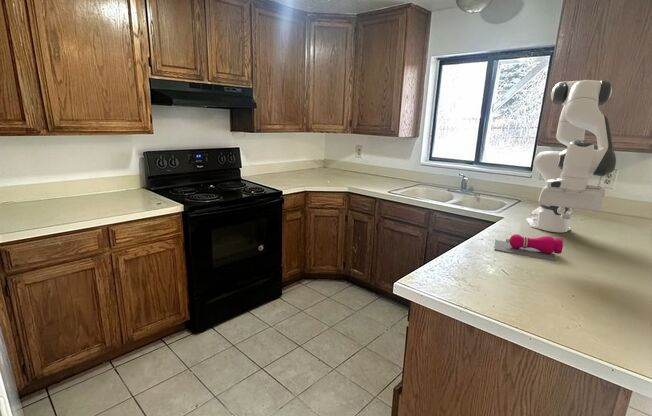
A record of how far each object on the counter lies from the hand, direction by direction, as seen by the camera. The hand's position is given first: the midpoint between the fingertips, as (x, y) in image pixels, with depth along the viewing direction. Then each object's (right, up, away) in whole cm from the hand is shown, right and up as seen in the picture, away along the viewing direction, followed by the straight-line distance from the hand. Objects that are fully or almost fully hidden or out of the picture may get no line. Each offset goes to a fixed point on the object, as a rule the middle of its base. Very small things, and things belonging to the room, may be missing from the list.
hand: (565, 218), depth 138 cm
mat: (-11, -14, +9) cm, 20 cm away
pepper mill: (+1, -11, +3) cm, 12 cm away
